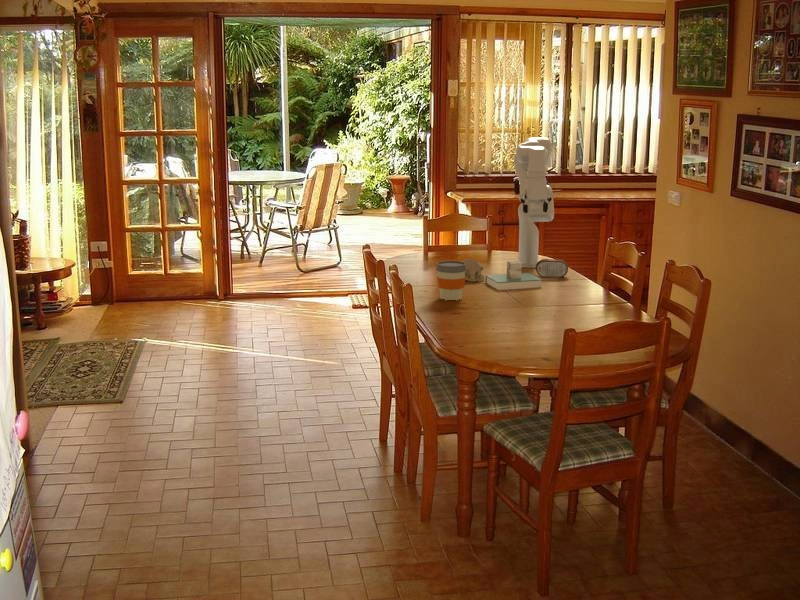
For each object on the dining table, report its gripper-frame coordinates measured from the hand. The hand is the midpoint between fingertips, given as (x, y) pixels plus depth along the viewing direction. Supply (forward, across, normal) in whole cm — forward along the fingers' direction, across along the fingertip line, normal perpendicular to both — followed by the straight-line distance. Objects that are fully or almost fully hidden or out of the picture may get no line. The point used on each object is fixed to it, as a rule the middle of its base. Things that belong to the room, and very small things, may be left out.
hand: (535, 212), depth 430 cm
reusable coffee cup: (+31, +51, +31) cm, 67 cm away
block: (+27, +16, +15) cm, 34 cm away
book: (+31, +16, +15) cm, 38 cm away
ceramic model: (+31, +30, -3) cm, 43 cm away
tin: (+31, -8, +3) cm, 32 cm away
